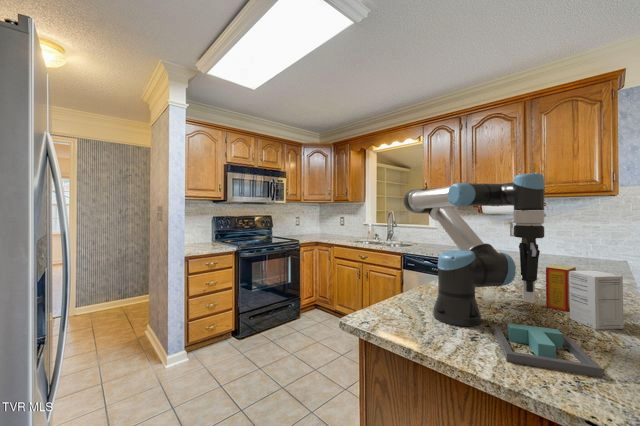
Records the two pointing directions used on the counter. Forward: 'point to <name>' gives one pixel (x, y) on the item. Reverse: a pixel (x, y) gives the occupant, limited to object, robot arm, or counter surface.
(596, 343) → the counter surface
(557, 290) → the baking soda box
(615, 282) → the supplement box
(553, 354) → the t block
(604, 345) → the counter surface
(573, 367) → the frame
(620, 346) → the counter surface
